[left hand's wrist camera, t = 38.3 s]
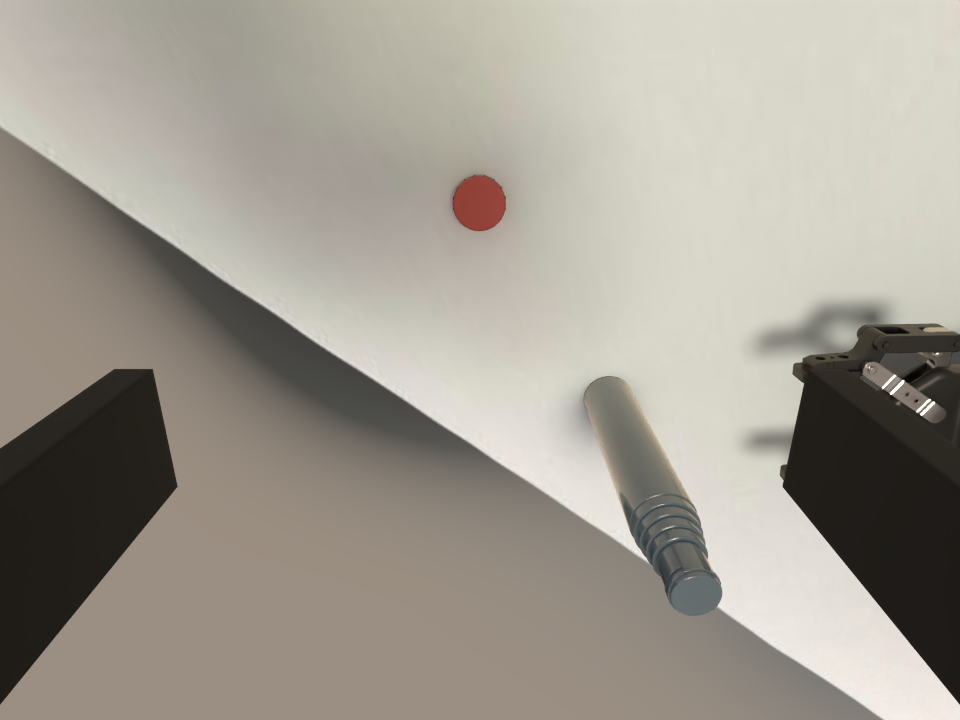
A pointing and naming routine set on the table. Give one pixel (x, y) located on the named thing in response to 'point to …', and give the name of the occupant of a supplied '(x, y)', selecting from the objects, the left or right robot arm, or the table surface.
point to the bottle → (652, 498)
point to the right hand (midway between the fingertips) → (790, 427)
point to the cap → (479, 203)
